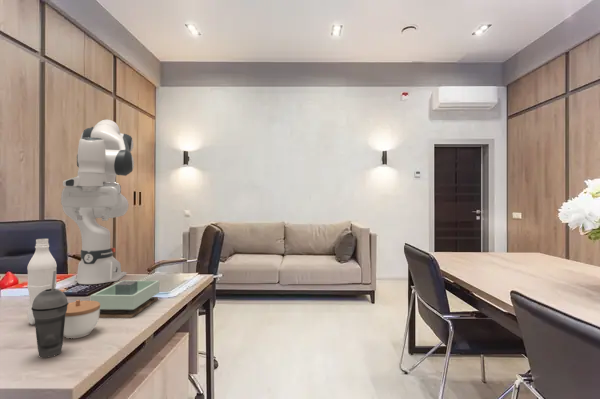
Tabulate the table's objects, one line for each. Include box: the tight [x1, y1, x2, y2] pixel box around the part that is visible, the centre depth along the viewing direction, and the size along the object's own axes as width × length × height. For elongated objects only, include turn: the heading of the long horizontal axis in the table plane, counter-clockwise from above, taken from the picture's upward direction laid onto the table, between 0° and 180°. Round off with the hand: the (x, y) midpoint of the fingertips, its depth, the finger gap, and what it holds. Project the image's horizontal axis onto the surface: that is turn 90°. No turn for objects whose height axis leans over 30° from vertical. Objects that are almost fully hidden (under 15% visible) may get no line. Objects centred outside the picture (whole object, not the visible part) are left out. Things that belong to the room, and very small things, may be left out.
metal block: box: [115, 280, 138, 295], centre depth 120 cm, size 5×5×5 cm
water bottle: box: [26, 238, 58, 326], centre depth 106 cm, size 7×7×25 cm
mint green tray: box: [89, 279, 160, 311], centre depth 120 cm, size 20×14×6 cm
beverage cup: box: [31, 270, 69, 358], centre depth 85 cm, size 7×7×20 cm
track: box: [99, 296, 159, 319], centre depth 120 cm, size 20×20×1 cm
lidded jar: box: [63, 299, 100, 340], centre depth 97 cm, size 11×11×9 cm
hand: (92, 220), depth 127 cm, fingers open, 8 cm apart
